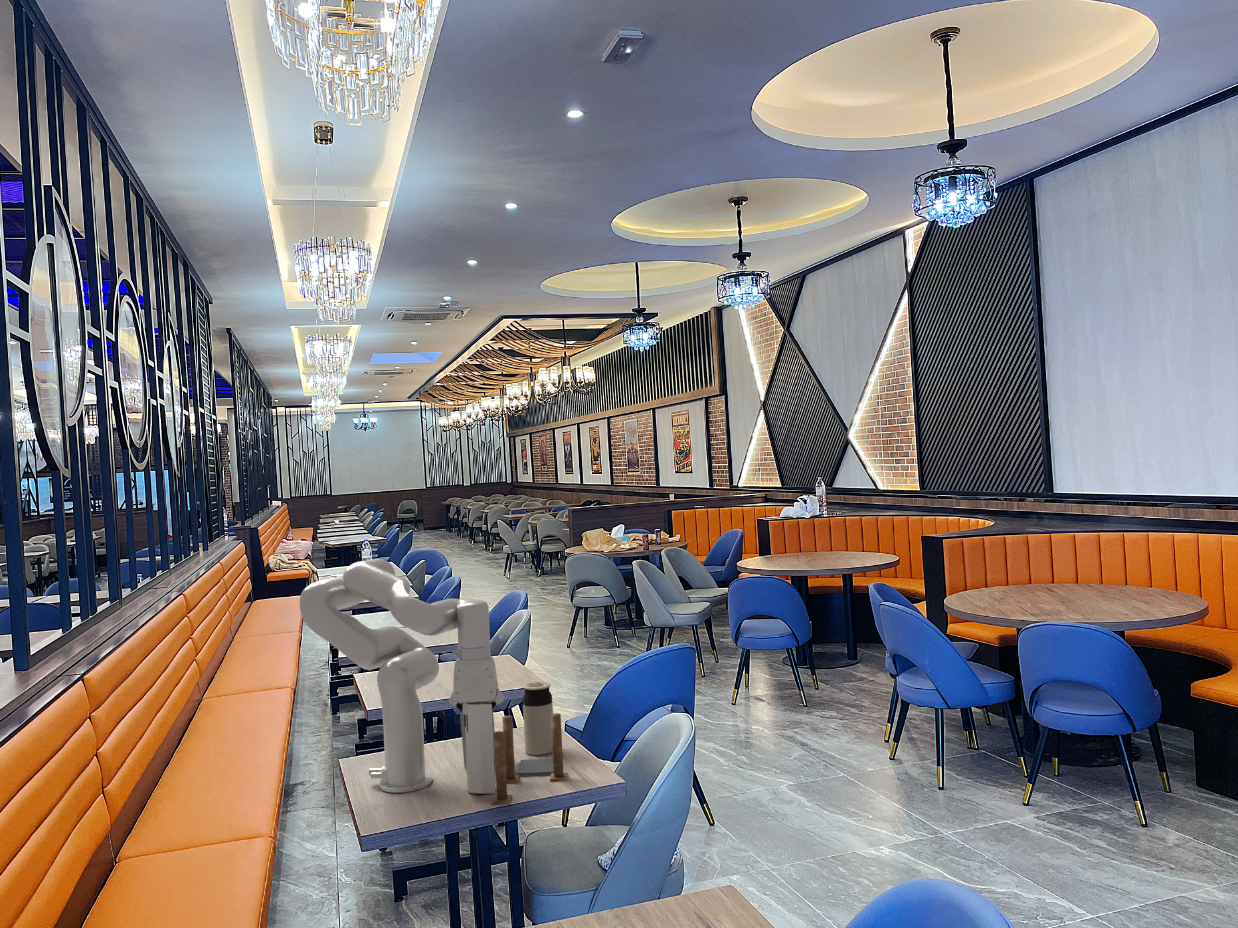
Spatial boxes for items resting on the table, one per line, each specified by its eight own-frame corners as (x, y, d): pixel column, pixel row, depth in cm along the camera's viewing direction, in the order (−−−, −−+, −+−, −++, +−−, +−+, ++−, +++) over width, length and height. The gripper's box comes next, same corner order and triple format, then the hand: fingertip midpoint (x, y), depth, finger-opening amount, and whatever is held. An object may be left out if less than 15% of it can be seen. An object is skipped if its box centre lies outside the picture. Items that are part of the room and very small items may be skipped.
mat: (515, 776, 213) (515, 773, 213) (521, 762, 223) (520, 759, 223) (555, 774, 212) (555, 771, 212) (559, 760, 222) (559, 757, 222)
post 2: (501, 783, 208) (498, 719, 208) (503, 777, 212) (500, 714, 212) (517, 782, 208) (514, 718, 208) (519, 776, 212) (516, 714, 212)
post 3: (550, 781, 208) (546, 717, 208) (551, 775, 212) (548, 712, 212) (566, 780, 208) (563, 716, 208) (567, 774, 212) (564, 711, 212)
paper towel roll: (466, 786, 206) (463, 698, 207) (491, 783, 208) (488, 695, 208) (469, 797, 200) (465, 705, 200) (495, 793, 201) (491, 703, 201)
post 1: (492, 804, 195) (488, 735, 195) (495, 797, 199) (491, 730, 199) (509, 803, 195) (506, 735, 195) (512, 796, 199) (508, 729, 199)
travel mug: (527, 757, 227) (524, 689, 227) (523, 748, 234) (520, 682, 235) (557, 753, 229) (553, 686, 229) (552, 744, 236) (548, 679, 237)
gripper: (436, 657, 200) (439, 735, 200) (506, 654, 200) (509, 733, 200) (443, 650, 208) (446, 726, 208) (511, 648, 208) (514, 723, 208)
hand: (477, 728), depth 204 cm, fingers closed on paper towel roll, 3 cm apart
